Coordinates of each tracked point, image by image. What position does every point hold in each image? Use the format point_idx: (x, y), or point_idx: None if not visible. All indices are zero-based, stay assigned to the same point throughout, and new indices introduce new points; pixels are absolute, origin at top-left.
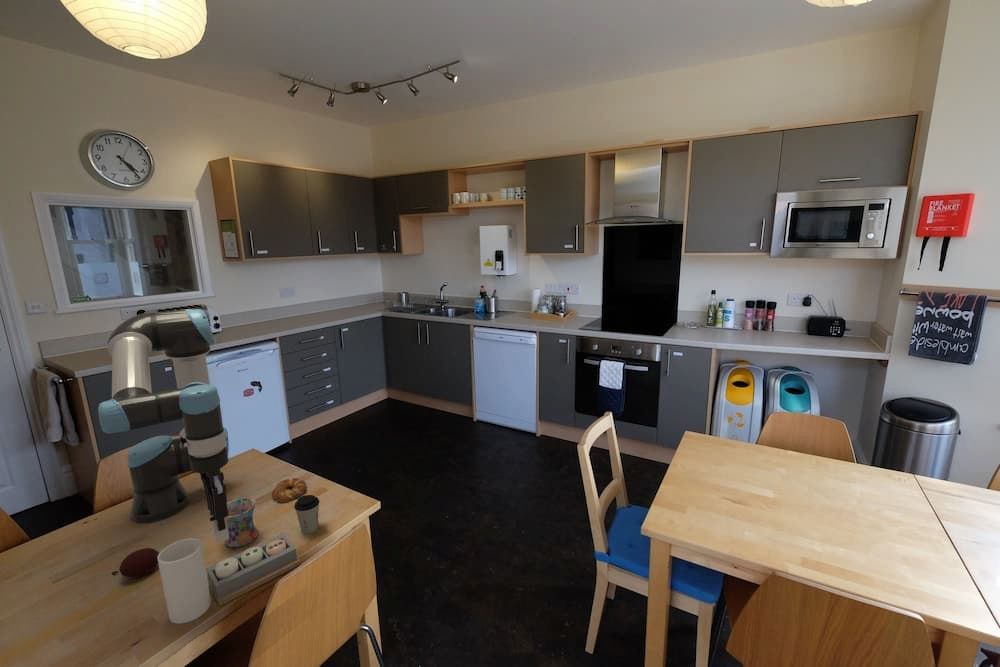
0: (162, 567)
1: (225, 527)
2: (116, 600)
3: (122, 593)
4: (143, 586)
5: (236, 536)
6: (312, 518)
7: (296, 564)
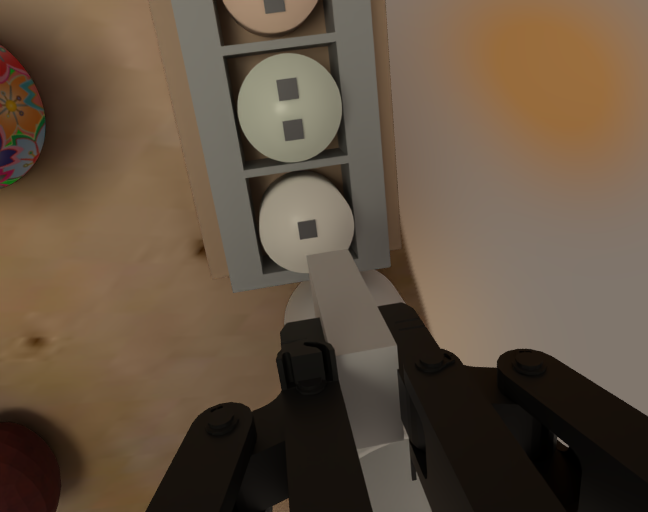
0: None
1: (411, 309)
2: (148, 494)
3: (119, 486)
4: (117, 441)
5: (1, 145)
6: None
7: None
